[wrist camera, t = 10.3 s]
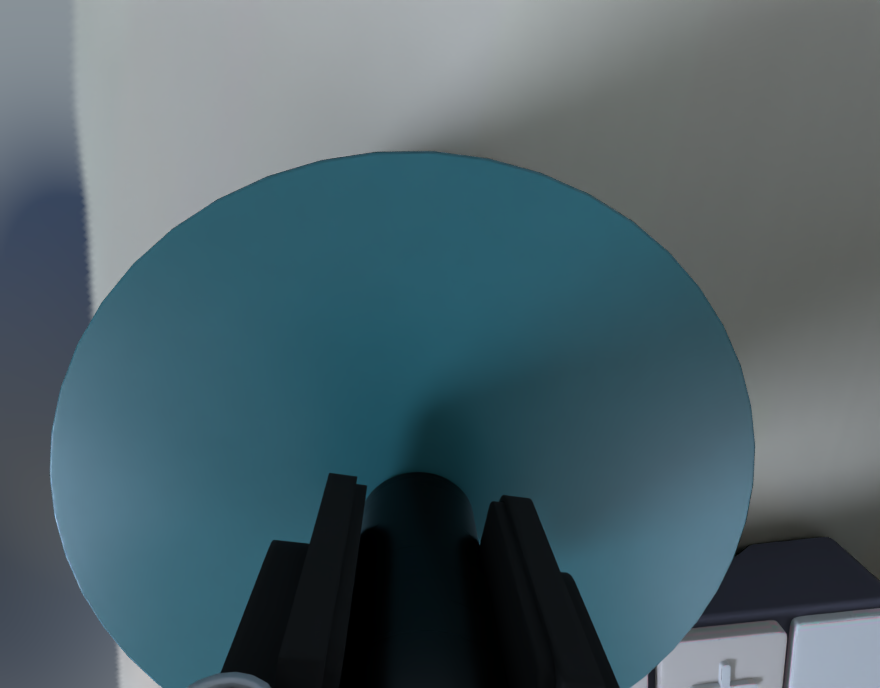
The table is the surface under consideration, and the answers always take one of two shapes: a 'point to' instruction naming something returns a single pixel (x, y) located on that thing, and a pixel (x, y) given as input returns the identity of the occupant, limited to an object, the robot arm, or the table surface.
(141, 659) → the lid
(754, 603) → the calculator
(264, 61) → the table surface
